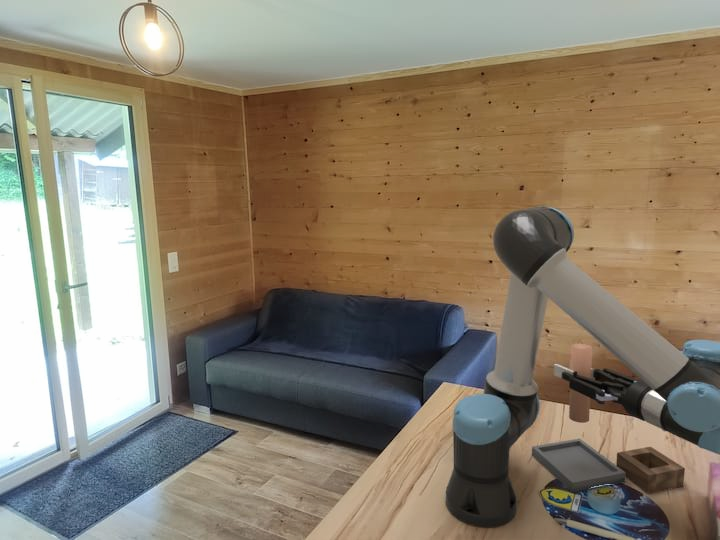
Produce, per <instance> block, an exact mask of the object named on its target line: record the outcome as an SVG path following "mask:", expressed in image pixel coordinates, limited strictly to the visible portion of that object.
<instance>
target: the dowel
mask: <svg viewBox="0 0 720 540" xmlns="http://www.w3.org/2000/svg"><path fill="white" fill-rule="evenodd" d="M570 350H571V352H570V353H571V354H570V361H571V370H572V371H577V373H578V375H580V376H583V377H587V378H590V379H591V368H592V361H593V360H592V359H593V358H592V357H593V346H592V345H590V344H585V343H572V344H571V349H570ZM590 407H591V398H589V397H587V396H585V395H583V394H581V393H579V392H577V391H575V390H572V389H570V388H569V410H568V411H569V413H568V417H569V419H570V420H571V421H572V422H576V423H578V424H579V423H580V424H581V423H582V424H583V423H588V422H589V421H590V410H591V408H590Z"/></svg>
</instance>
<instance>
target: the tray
mask: <svg viewBox="0 0 720 540" xmlns="http://www.w3.org/2000/svg"><path fill="white" fill-rule="evenodd" d="M531 456H532V457H533V458H534V459H535V460H536V461H537V462H538V463H539V464H540V465H541V466H543V467H544V469H546V471H548V472H549V473H550V474H551V475H552V476H553V477H555V479H557V480H558V481H559V482H560V483H561V485H563V486H564V487H565V488H566V489H567V490H568V491H569V492H571V493H574V494H575V493H579V492H583V491H584V492H585V491H587V490H586V489H589V488H591V487H594V486H599V485H604V484H614V485H618V483H619V484H624V483H626V477H625V475H626V472H624V471H623V470H622V469H620V468H619V467H617V466H616V464H614V462H612V461H611V460H610V459H608V458H607V457H606V456H604V455H603V454H601V453H600V452H599V451H597V450H596V449H595V448H593V447H592V446H591V445H590V444H588V443H587V442H586V441H584V440H583V439H581V438H575V439H570V440H564V441H563V440H562V441H556V442H552V443H544V444H540V445H533V446H532V445H531ZM616 483H617V484H616ZM589 490H590V489H589Z"/></svg>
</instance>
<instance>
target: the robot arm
mask: <svg viewBox="0 0 720 540" xmlns="http://www.w3.org/2000/svg"><path fill="white" fill-rule="evenodd" d="M494 229H495V230H494V232H493V239H492V240H493V241H492V243H493V248H494V249H493V250H494V252H495V254H496V256H497V257H498V259H499V260H500V262H501V263H502V264H503V265H504V267H505V268H506V270H507V271H508V273H509V274H510V275H509V276H510V277H509V282H508V287H507V288H508V289H507V294H506V300H505V305H504V312H503V317H502V323H501V324H502V325H501V329H500V333H499V334H500V335H499V342H498V347H497V353H496V359H495V365H494V370H492V371H490V372H489V373H487V374H486V378H485V383H484V388H483V389H484V391H483V393H475V394H474V395H467V396H465V397H462V399H460V400H459V401H458V402H457V404H456V405H455V406H454V410H453V418H452V428H453V429H452V432H453V439H452V440H453V441H452V442H453V446H452V447H453V470H452V472H451V475H450V478H449V480H448V483H447V486H446V488H445V489H446V490H445V504H446V507H447V509H448V511H449V512H450V514H452V515H453V516H454V517H455V518H456V519H458V520H459V521H461V522H463V523H465V524H467V525H471V526H475V527H479V528H496V527H500V526H503V525H506V524H508V523H509V522H512V521H513V519H514V518H515V516H516V514H517V509H518V508H517V506H518V504H517V503H518V502H517V501H518V500H517V496H516V492H515V490H514V487H513V484H512V481H511V477H510V474H509V469H510V468H509V467H510V449H511V447H512V446H513V445H515V443H516V442H517V441H518V440H519V438H520V437H522V435H524V434H525V432H526V431H527V430H529V429H530V428H531V427H532V426H533V424H534V423H535V422H536V420H537V417H538V415H539V413H540V412H539V411H540V398H539V396H538V390H539V387H538V384H537V383H536V381H535V380H534V373H535V369H536V363H537V358H538V354H539V353H538V352H539V348H540V343H541V338H542V333H543V327H544V321H545V317H546V311H547V306H548V301H549V300H550V301H552V302H553V303H554V304H555V305H556V306H557V307H558V308H560V309H561V310H562V311H563V312H564V313H565V314H566V315H568V316H569V317H570V318H571V319H572V320H573V321H574V322H575V323H577V324H578V325H579V326H580V327H581V328H582V329H583V330H585V331H586V332H587V333H588V334H589V335H590V336H591V337H592V338H594V339H595V340H596V341H597V342H598V343H600V344H601V345H602V346H603V347H604V348H606V350H608V352H609V353H611V354H612V355H613V356H614V357H615V358H616V359H618V360H619V361H620V362H621V363H622V364H623V365H624V366H625V367H626V368H628V369H629V370H630V371H631V372H632V373H634V374H635V375H636V376H637V377H638V378H639V379H637V378H634V377H631V376H628V375H625V374H622V373H620V372H617V371H614V370H611V369H608V368H606V367H605V368H603V369H602V370H601V369H599V368H592V367H591V379H590V378H587V377H583V376H580V375H578V373H577V371H572V370H571V360H569V368H568V367H566V366H563V365H561V364H558V363H554V364H553V376H555V377H558V378H559V379H562V380H565V381H567V382H568V383H569V384H568V387H569V390H570V389H572V390H575V391H577V392H579V393H581V394H583V395H585V396H587V397H589V398H590V399H592V400H594V401H595V402H596V403H597V404H599V405H605V403H606V401H611V402H612V403H614V404H618V405H621V406H622V407H623V409H624V411H625V412H626V413H627V414H628V415H629V416H630V417H631V416H632V417H634V418H635V419H638V420H641V421H643V422H646V423H648V424H650V425H652V426H655V427H657V428H659V429H661V431H663V432H667V433H669V434H671V435H673V436H675V437H678V438H680V439H682V440H685V441H686V442H689V443H691V444H693V445H695V446H697V447H699V448H700V449H703V450H705V451H709V452H710V453H714V454H717V455H719V456H720V342H719V341H715V340H707V339H692V340H688V341H686V342H685V343H684V344H683V347H682V348H683V349H682V351H681V350H679V349H678V348H677V347H675V346H674V345H673V344H672V343H671V342H669V341H668V340H667V339H666V338H665V337H663V336H662V334H660V333H659V332H658V331H656V330H655V329H653V327H651V326H650V325H649V324H648V323H647V322H645V321H644V320H643V319H642V318H640V317H639V316H638V315H637V314H635V313H634V312H633V311H632V310H631V309H630V308H628V307H627V306H626V305H625V304H623V303H622V302H621V301H620V300H618V299H617V298H616V297H615V296H613V294H611V293H610V291H608V290H607V289H605V288H604V287H603V286H602V285H600V283H598V282H597V281H595V280H594V278H592V277H591V276H589V275H588V274H587V273H586V272H584V270H583V269H581V268H579V267H578V265H576V264H575V263H574V262H572V261H571V260H570V259H569V258H568V257H567V252H569V250H570V249H571V246H572V245H573V242H574V238H575V232H574V230H575V229H574V226H573V224H572V221H571V219H569V217H568V216H567V215H566V214H565V213H564V212H563V211H561V210H559V209H557V208H554V207H550V206H541V205H540V206H539V205H538V206H534V207H530V208H526V209H517V210H515V211H514V210H513V211H511V212H509V213H508V214H506V215H504V217H503V218H501V220H499V222H498V223H497V224H496V226H495V228H494Z"/></svg>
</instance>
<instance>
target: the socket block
mask: <svg viewBox="0 0 720 540" xmlns="http://www.w3.org/2000/svg"><path fill="white" fill-rule="evenodd" d="M615 465H616V466H617V467H619V468H620V469H622V470H623V471H624V472H626V475H625V479H628V480H629V481H630V482H632V483H633V484H634V485H636V486H637V487H638V488H639V489H641V490H643V491H644V492H645V493H646V494H652V493H657V492H661V491H667V490H671V489H677V488H682V487H684V485H685V484H684V483H685V473H686V472H685V469H686V468H685V467H684V466H682V465H680V464H679V463H677V462H676V461H675V460H672V459H671V458H670V457H668V456H666V455H665V454H663V453H662V452H660V451H658V450H657V449H656V448H653V447H652V446H646V447H642V448H641V447H640V448H635V449H630V450H624V451H619V452H616V464H615Z"/></svg>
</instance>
